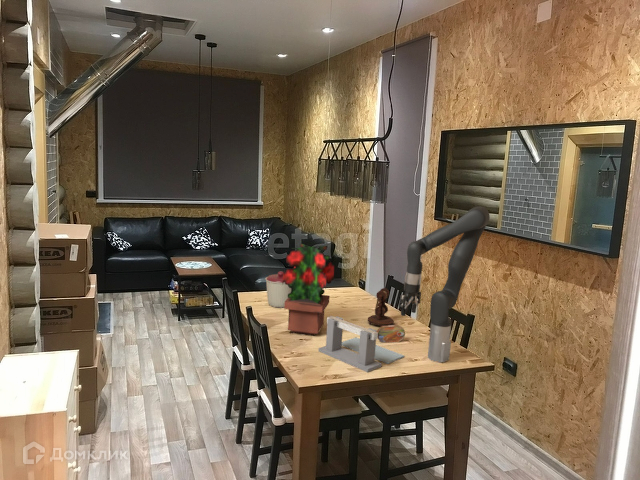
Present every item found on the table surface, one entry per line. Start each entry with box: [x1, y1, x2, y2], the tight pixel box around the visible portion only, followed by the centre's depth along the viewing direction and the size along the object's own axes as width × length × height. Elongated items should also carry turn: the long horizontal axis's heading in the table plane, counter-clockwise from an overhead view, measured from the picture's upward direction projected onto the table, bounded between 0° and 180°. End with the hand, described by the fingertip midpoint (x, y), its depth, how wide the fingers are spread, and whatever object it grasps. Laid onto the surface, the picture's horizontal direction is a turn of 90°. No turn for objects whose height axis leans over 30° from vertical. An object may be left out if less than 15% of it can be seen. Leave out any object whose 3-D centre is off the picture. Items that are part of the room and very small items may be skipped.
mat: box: [341, 336, 405, 365], centre depth 250 cm, size 30×13×1 cm, turn 46°
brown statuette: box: [367, 287, 395, 327], centre depth 289 cm, size 15×15×20 cm
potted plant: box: [282, 243, 335, 337], centre depth 269 cm, size 22×22×45 cm
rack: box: [318, 315, 383, 373], centre depth 238 cm, size 30×10×16 cm, turn 46°
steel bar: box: [326, 315, 378, 341], centre depth 237 cm, size 28×3×3 cm, turn 46°
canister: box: [265, 271, 291, 308], centre depth 312 cm, size 18×18×21 cm
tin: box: [376, 324, 406, 344], centre depth 264 cm, size 15×3×8 cm, turn 105°
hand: (408, 313), depth 249 cm, fingers open, 8 cm apart
